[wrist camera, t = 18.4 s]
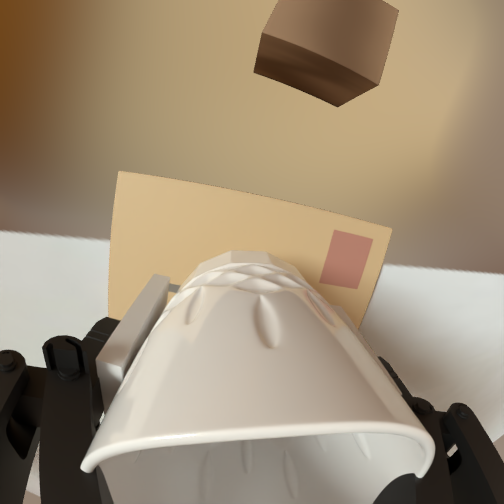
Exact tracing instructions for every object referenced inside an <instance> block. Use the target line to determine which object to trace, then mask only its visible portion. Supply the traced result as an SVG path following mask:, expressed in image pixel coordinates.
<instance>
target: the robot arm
mask: <svg viewBox="0 0 504 504" xmlns="http://www.w3.org/2000/svg"><path fill="white" fill-rule="evenodd" d="M169 281H170V277H168V276H163V275H159V274H154V275H153V276H152V278H151V279H150V280H149V282H148V283H147V284H146V286H145V287H144V289H143V290H142V291H141V293H140V294H139V296H138V297H137V298H136V300H135V301H134V303H133V304H132V305H131V307H130V308H129V310H128V311H127V313H126V314H125V316H124V317H123V318H122V320H117V319H113V318H109V317H105V318H103V319H101V320H100V321H98V322H96V324H95V325H94V326H93V327H92V329H91V331H89V332H88V334H87V335H86V337H84V339H83V340H82V341H81V340H79V339H77V338H75V337H72V336H67V335H64V336H56V337H53V338H50V339H49V340H48V341H46V342H45V343H44V345H43V347H42V350H43V354H44V358H45V362H46V366H47V368H41V367H34V366H28V365H26V362H25V358H24V357H23V356H22V355H21V354H20V353H18V352H17V351H14V350H2V351H0V504H23V498H24V494H25V490H26V486H27V482H28V478H29V474H30V470H31V467H32V463H33V460H34V457H35V453H36V450H37V447H38V444H39V441H40V447H39V477H40V495H41V504H114V502H113V499H112V496H111V493H110V490H109V488H108V485H107V482H106V479H105V476H104V474H103V472H102V470H101V468H100V466H99V465H97V466H96V467H95V469H94V471H93V472H91V473H86V472H84V471H83V470H81V468H80V466H81V463H82V461H83V459H84V457H85V455H86V453H87V451H88V449H89V447H90V445H91V443H92V440H93V438H94V436H95V434H96V432H97V430H98V428H99V426H100V421H99V420H100V418H101V416H102V413H103V411H104V415H105V414H106V412H107V411H108V409H109V407H110V405H111V403H112V401H113V399H114V397H115V395H116V393H117V391H118V389H119V387H120V385H121V383H122V381H123V379H124V378H125V376H126V374H127V372H128V370H129V368H130V366H131V364H132V363H133V361H134V359H135V357H136V355H137V353H138V352H139V350H140V348H141V346H142V344H143V343H144V341H145V340H146V338H147V337H148V336H149V334H150V332H151V330H152V329H153V327H154V326H155V324H156V322H157V321H158V319H159V317H160V316H161V314H162V313H163V311H164V309H165V308H166V306H167V299H168V290H169ZM330 306H331V307H332V308H333V309H334V311H335V312H336V313H337V314H338V315H339V317H340V318H341V319H342V320H343V321H344V322H345V323H346V324H347V326H348V327H349V328H350V329H351V330H352V332H353V333H354V334H355V335H356V337H357V338H358V339H359V341H360V342H361V343H362V344H363V346H364V347H365V348H366V350H367V351H368V352H369V354H370V355H371V356H372V357H373V359H374V360H375V361H376V363H377V364H378V365H379V367H380V368H381V369H382V371H383V372H384V373H385V375H386V376H387V377H388V379H389V380H390V381H391V383H392V384H393V385H394V387H395V388H396V389H397V391H398V392H399V393H400V395H401V396H402V397H403V399H404V400H405V401H406V403H407V404H408V405H409V407H410V408H411V409H412V411H413V412H414V413H415V415H416V416H417V417H418V419H419V420H420V422H421V423H422V424H423V426H424V427H425V428H426V430H427V431H428V432H429V434H430V435H431V437H432V438H433V440H434V443H435V456H434V459H433V462H432V464H431V466H430V468H429V469H428V471H427V473H426V474H425V475H424V477H422V478H418V477H417V476H416V475H415V473H408V474H404V475H401V476H399V477H397V478H395V479H394V480H392V481H391V482H390V483H389V484H388V485H387V486H386V487H385V488H384V489H383V490H382V491H381V493H380V494H379V495H378V496H377V498H376V499H375V501H374V502H373V504H504V463H503V461H502V459H501V457H500V455H499V454H498V452H497V450H496V448H495V447H494V445H493V443H492V441H491V440H490V438H489V436H488V435H487V433H486V431H485V430H484V428H483V427H482V425H481V423H480V422H479V420H478V419H477V417H476V416H475V414H474V412H473V411H472V410H471V409H470V408H469V407H468V406H467V405H465V404H463V403H453V404H452V405H451V406H450V408H449V409H448V410H447V412H441V411H435V409H434V407H433V406H432V405H431V404H430V403H429V402H428V401H426V400H424V399H422V398H419V397H412V395H411V394H410V393H409V391H408V390H407V388H406V387H405V385H404V384H403V383H402V381H401V380H400V378H398V376H397V374H396V373H395V372H394V370H393V369H392V367H391V366H390V364H389V363H388V362H386V361H385V360H384V359H383V358H381V357H377V356H376V354H375V353H374V352H373V350H372V349H371V347H370V346H369V344H368V343H367V342H366V340H365V339H364V337H363V336H362V335H361V333H360V332H359V330H358V329H357V328H356V326H355V325H354V323H353V322H352V321H351V319H350V318H349V317H348V315H347V314H346V312H345V311H344V310H343V308H342V307H341V306H335V305H330ZM455 444H456V446H457V448H458V449H457V451H456V452H455V453H454V454H453V455H452V456H451V457H449V456H448V455H447V452H448V451H449V450H450V449H451V448H452V447H453V446H454V445H455Z"/></svg>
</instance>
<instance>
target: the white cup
mask: <svg viewBox="0 0 504 504" xmlns="http://www.w3.org/2000/svg"><path fill="white" fill-rule="evenodd" d="M434 456H435V443H434V440H433V438H432V437H431V435H430V434H429V432H428V431H427V430H426V428H425V427H424V426H423V424H422V423H421V422H420V420H419V419H418V417H417V416H416V415H415V413H414V412H413V411H412V409H411V408H410V407H409V405H408V404H407V403H406V401H405V400H404V399H403V397H402V396H401V395H400V393H399V392H398V391H397V389H396V388H395V387H394V385H393V384H392V383H391V381H390V380H389V379H388V377H387V376H386V375H385V373H384V372H383V371H382V369H381V368H380V367H379V365H378V364H377V363H376V361H375V360H374V359H373V357H372V356H371V355H370V354H369V352H368V351H367V350H366V348H365V347H364V346H363V344H362V343H361V342H360V341H359V339H358V338H357V337H356V335H355V334H354V333H353V332H352V330H351V329H350V328H349V327H348V326H347V324H346V323H345V322H344V321H343V320H342V319H341V318H340V317H339V315H338V314H337V313H336V312H335V311H334V309H333V308H332V307H331V306H330V305H329V304H328V302H327V301H326V300H325V299H324V298H323V297H322V295H320V294H319V293H318V292H317V291H316V290H315V289H314V288H312V287H311V286H310V285H309V284H308V283H307V282H306V280H305V279H304V278H303V276H302V275H301V274H300V272H299V271H298V270H297V268H296V267H295V266H293V265H291V264H289V263H287V262H285V261H283V260H282V259H280V258H278V257H276V256H274V255H272V254H270V253H268V252H266V251H244V250H230V251H228V252H225V253H223V254H221V255H218V256H216V257H214V258H211V259H209V260H206V261H204V262H202V263H200V264H199V265H198V266H197V267H196V269H195V270H194V271H193V272H192V273H191V274H190V276H189V277H188V278H187V279H186V280H185V281H184V283H183V284H182V285H181V286H180V288H179V289H178V291H177V293H176V295H174V296H173V298H172V299H171V300H170V302H169V303H168V305H167V306H166V308H165V309H164V311H163V313H162V314H161V316H160V317H159V319H158V321H157V322H156V324H155V326H154V327H153V329H152V330H151V332H150V334H149V336H148V337H147V338H146V340H145V341H144V343H143V344H142V346H141V348H140V350H139V352H138V353H137V355H136V357H135V359H134V361H133V363H132V364H131V366H130V368H129V370H128V372H127V374H126V376H125V378H124V379H123V381H122V383H121V385H120V387H119V389H118V391H117V393H116V395H115V397H114V399H113V401H112V403H111V405H110V407H109V409H108V411H107V412H106V414H105V416H104V418H103V420H102V422H101V424H100V426H99V428H98V430H97V432H96V434H95V436H94V438H93V440H92V443H91V445H90V447H89V449H88V451H87V453H86V455H85V457H84V459H83V461H82V463H81V466H80V468H81V470H83V471H84V472H86V473H91V472H93V471H94V469H95V467H96V466H97V465H99V466H100V468H101V470H102V472H103V474H104V476H105V479H106V482H107V485H108V488H109V490H110V493H111V496H112V499H113V502H114V504H373V502H374V501H375V499H376V498H377V496H378V495H379V494H380V493H381V491H382V490H383V489H384V488H385V487H386V486H387V485H388V484H389V483H390V482H391V481H392V480H394V479H395V478H397V477H399V476H401V475H404V474H408V473H415V475H416V476H417V477H418V478H422V477H424V475H425V474H426V473H427V471H428V469H429V468H430V466H431V464H432V462H433V459H434Z"/></svg>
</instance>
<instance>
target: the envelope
mask: <svg viewBox="0 0 504 504" xmlns="http://www.w3.org/2000/svg"><path fill="white" fill-rule="evenodd" d="M391 233H392V228H389V227H386V226H382V225H378V224H375V223H371V222H368V221H364V220H361V219H357V218H353V217H349V216H346V215H342V214H338V213H334V212H330V211H326V210H322V209H318V208H314V207H310V206H306V205H302V204H298V203H293V202H289V201H285V200H280V199H276V198H271V197H266V196H262V195H257V194H253V193H248V192H243V191H238V190H233V189H228V188H223V187H218V186H212V185H207V184H201V183H195V182H190V181H184V180H179V179H172V178H166V177H160V176H154V175H147V174H140V173H133V172H125V171H119V173H118V179H117V186H116V193H115V201H114V209H113V218H112V229H111V241H110V257H109V285H108V313H109V318H113V319H117V320H122V318H123V317H124V316H125V314H126V313H127V311H128V310H129V308H130V307H131V305H132V304H133V303H134V301H135V300H136V298H137V297H138V296H139V294H140V293H141V291H142V290H143V289H144V287H145V286H146V284H147V283H148V282H149V280H150V279H151V278H152V276H153V275H154V274H159V275H163V276H168V277H170V281H169V290H168V299H167V305H168V303H169V302H170V300H171V299H172V298H173V296H174V295H176V293H177V291H178V289H179V288H180V286H181V285H182V284H183V283H184V281H185V280H186V279H187V278H188V277H189V276H190V274H191V273H192V272H193V271H194V270H195V269H196V267H197V266H198V265H199V264H200V263H202V262H204V261H206V260H209V259H211V258H214V257H216V256H218V255H221V254H223V253H225V252H228V251H230V250H244V251H266V252H268V253H270V254H272V255H274V256H276V257H278V258H280V259H282V260H283V261H285V262H287V263H289V264H291V265H293V266H295V267H296V268H297V270H298V271H299V272H300V274H301V275H302V276H303V278H304V279H305V280H306V282H307V283H308V284H309V285H310V286H311V287H312V288H314V289H315V290H316V291H317V292H318V293H319V294H320V295H322V297H323V298H324V299H325V300H326V301H327V302H328V304H329V305H335V306H341V307H342V308H343V310H344V311H345V312H346V314H347V315H348V317H349V318H350V319H351V321H352V322H353V323H354V325H355V326H356V328H357V329H359V326H360V324H361V322H362V319H363V316H364V314H365V311H366V309H367V306H368V304H369V301H370V298H371V295H372V293H373V290H374V287H375V284H376V281H377V278H378V276H379V273H380V270H381V266H382V263H383V260H384V257H385V254H386V250H387V247H388V244H389V241H390V237H391Z"/></svg>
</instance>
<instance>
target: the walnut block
mask: <svg viewBox="0 0 504 504" xmlns="http://www.w3.org/2000/svg"><path fill="white" fill-rule="evenodd" d="M398 12H399V10H397V9H396V8H394V7H393V6H391V5H389V4H388V3H386V2H384V1H382V0H279V1H278V3H277V4H276V6H275V8H274V10H273V12H272V14H271V16H270V18H269V20H268V22H267V24H266V26H265V28H264V30H263V32H262V35H261V40H260V44H259V49H258V53H257V58H256V63H255V67H254V73H256V74H258V75H261V76H264V77H267V78H270V79H273V80H275V81H278V82H281V83H283V84H286V85H288V86H291V87H293V88H295V89H298V90H300V91H303V92H305V93H307V94H309V95H312V96H314V97H316V98H318V99H321V100H323V101H325V102H328V103H329V104H331V105H333V106H335V107H339V106H341V105H343V104H345V103H346V102H348V101H350V100H352V99H354V98H355V97H357V96H359V95H361V94H363V93H365V92H367V91H368V90H370V89H372V88H374V87H376V86H378V85H379V83H380V79H381V76H382V72H383V69H384V66H385V62H386V59H387V55H388V51H389V48H390V44H391V40H392V36H393V32H394V29H395V24H396V20H397V16H398Z"/></svg>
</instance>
